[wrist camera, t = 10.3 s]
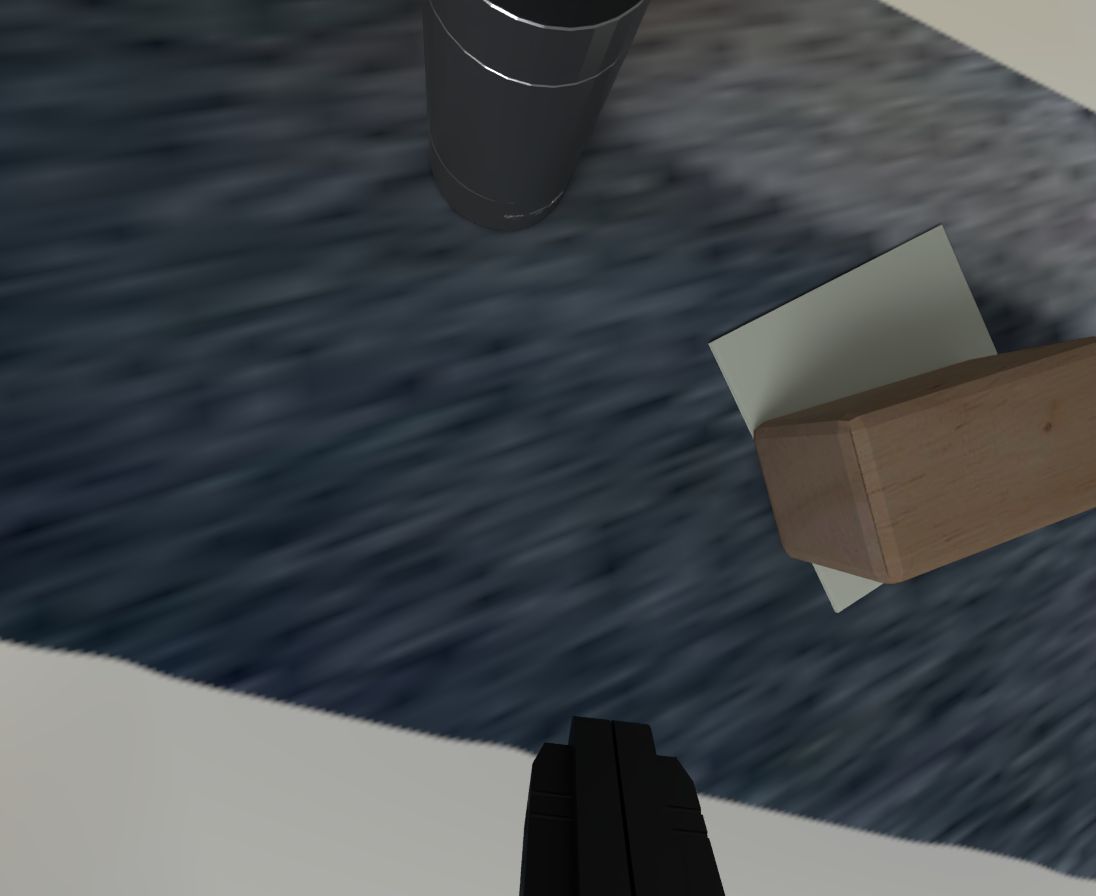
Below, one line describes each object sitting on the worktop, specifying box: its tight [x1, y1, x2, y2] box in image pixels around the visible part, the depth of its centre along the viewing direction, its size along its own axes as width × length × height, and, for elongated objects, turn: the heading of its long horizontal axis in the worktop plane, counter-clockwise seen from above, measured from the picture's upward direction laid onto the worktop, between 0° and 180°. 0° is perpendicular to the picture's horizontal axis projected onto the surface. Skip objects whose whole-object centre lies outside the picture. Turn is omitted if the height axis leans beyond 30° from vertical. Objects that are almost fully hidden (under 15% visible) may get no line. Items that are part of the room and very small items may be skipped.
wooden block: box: [753, 336, 1096, 584], centre depth 36 cm, size 10×10×20 cm
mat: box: [709, 225, 997, 613], centre depth 41 cm, size 22×22×1 cm
